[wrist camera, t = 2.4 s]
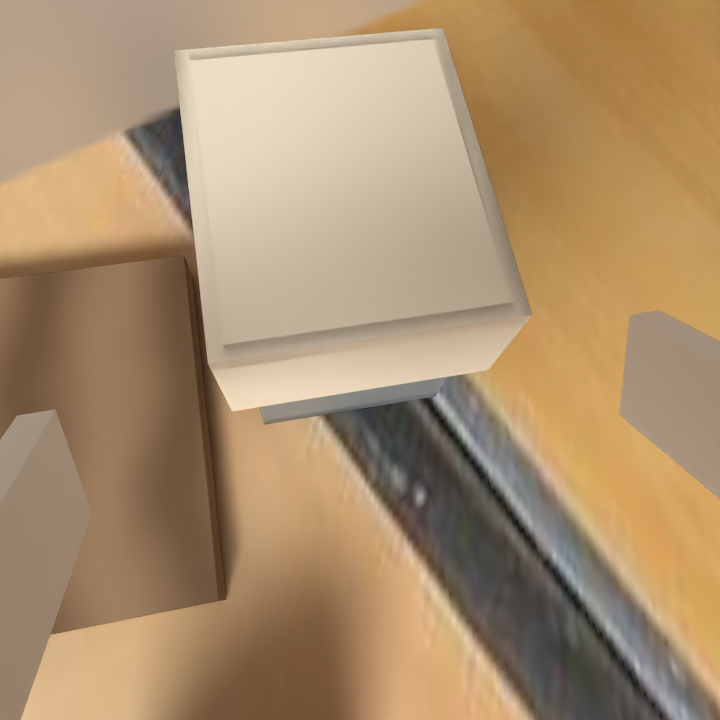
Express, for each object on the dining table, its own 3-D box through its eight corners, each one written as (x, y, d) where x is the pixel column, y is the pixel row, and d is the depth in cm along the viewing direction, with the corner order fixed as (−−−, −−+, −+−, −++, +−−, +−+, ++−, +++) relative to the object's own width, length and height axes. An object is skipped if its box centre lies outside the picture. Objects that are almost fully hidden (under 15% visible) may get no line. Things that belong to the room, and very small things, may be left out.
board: (192, 276, 29) (183, 255, 27) (226, 599, 24) (218, 600, 22) (-93, 313, 28) (-122, 294, 26) (-118, 667, 23) (-157, 675, 21)
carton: (392, 215, 31) (423, 59, 22) (435, 396, 28) (494, 303, 19) (238, 234, 30) (203, 80, 21) (264, 424, 27) (236, 341, 18)
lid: (420, 125, 26) (442, 27, 22) (487, 370, 22) (532, 315, 18) (200, 149, 25) (173, 50, 20) (232, 411, 21) (207, 363, 17)
